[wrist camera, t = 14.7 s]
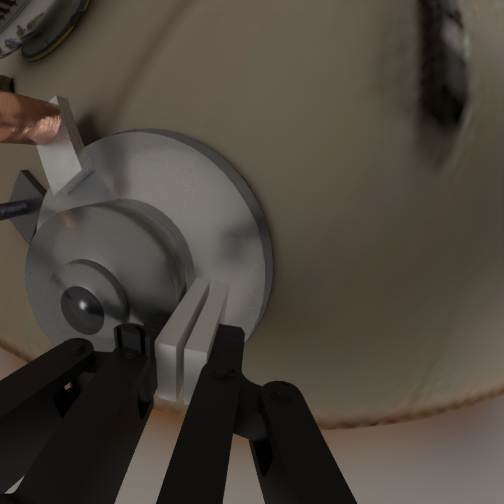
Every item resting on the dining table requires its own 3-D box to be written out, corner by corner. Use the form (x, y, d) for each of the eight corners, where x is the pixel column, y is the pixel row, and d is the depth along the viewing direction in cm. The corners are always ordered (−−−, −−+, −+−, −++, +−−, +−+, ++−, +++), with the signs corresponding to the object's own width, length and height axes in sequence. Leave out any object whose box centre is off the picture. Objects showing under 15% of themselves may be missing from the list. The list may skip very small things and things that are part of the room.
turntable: (157, 41, 14) (99, -24, 5) (310, 324, 18) (336, 416, 10) (7, 180, 16) (-63, 189, 8) (122, 391, 21) (82, 456, 12)
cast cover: (146, 169, 14) (99, 165, 9) (221, 299, 17) (215, 355, 11) (50, 243, 15) (-5, 269, 9) (117, 348, 17) (86, 401, 12)
